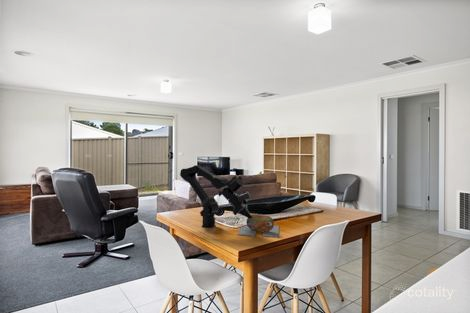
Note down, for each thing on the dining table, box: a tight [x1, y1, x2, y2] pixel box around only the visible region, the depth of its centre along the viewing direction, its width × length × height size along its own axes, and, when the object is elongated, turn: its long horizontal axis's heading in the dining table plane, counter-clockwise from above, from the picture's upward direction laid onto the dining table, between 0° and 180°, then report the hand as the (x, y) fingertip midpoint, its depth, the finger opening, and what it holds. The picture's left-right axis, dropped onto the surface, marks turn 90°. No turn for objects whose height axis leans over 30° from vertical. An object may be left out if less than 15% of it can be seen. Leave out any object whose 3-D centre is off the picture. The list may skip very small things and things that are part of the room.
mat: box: [237, 225, 280, 238], centre depth 153 cm, size 21×20×1 cm
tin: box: [246, 214, 275, 232], centre depth 151 cm, size 15×3×8 cm, turn 66°
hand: (251, 217), depth 152 cm, fingers closed
